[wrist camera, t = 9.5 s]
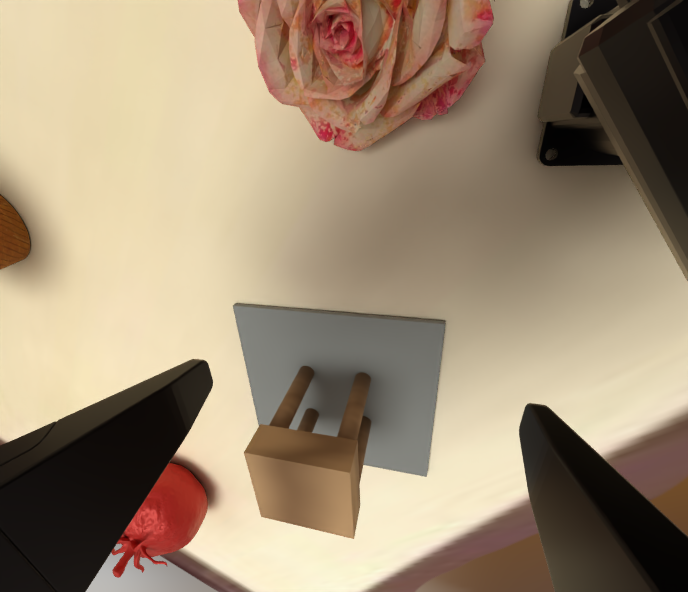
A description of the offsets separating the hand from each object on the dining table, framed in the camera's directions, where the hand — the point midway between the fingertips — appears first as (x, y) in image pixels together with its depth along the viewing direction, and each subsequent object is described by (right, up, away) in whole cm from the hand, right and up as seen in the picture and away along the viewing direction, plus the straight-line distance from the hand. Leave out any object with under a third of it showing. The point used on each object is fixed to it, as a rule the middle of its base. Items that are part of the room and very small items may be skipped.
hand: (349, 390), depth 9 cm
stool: (-1, -5, +16) cm, 17 cm away
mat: (-1, -5, +17) cm, 17 cm away
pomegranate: (-19, -19, +29) cm, 40 cm away
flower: (+1, +14, +6) cm, 16 cm away
